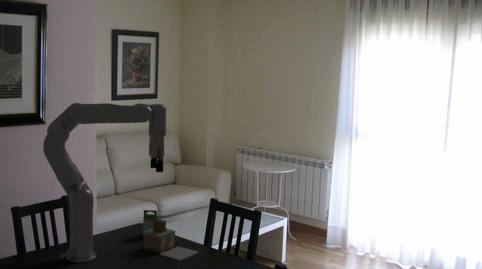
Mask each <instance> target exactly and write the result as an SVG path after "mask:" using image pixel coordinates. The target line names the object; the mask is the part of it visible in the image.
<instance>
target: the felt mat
mask: <svg viewBox="0 0 482 269" xmlns="http://www.w3.org/2000/svg"><path fill="white" fill-rule="evenodd" d="M199 253H200V251H197V250H193V249H189V248H185V247H183V246H176V247H175V248H173V249H171V250H168V251H166V252H163V253H161V254H160V253H159V256H163V257H167V258H168V259H169V258H170V259H172V260H176V261H180V262H181V261H184V260H186V259H188V258H191V257H192V256H195V255H197V254H199Z"/></svg>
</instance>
